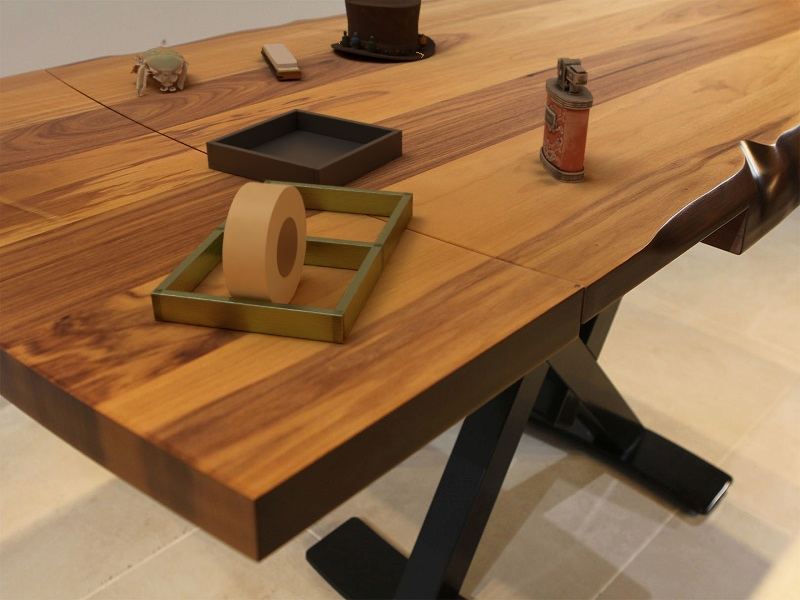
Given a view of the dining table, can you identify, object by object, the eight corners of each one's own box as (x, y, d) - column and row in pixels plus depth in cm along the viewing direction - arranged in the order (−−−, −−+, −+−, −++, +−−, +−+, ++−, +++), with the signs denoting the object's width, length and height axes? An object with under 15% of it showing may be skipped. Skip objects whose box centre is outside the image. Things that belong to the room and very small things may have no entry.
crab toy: (97, 82, 103) (100, 40, 101) (155, 78, 113) (159, 40, 111) (155, 102, 101) (160, 59, 99) (210, 96, 110) (215, 57, 108)
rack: (154, 320, 55) (150, 292, 55) (267, 201, 73) (265, 179, 72) (342, 343, 53) (342, 315, 52) (412, 215, 71) (413, 192, 70)
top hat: (379, 35, 133) (379, -37, 128) (456, 50, 124) (459, -27, 119) (309, 51, 123) (305, -26, 118) (387, 68, 114) (386, -14, 109)
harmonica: (260, 55, 120) (259, 41, 119) (282, 54, 121) (281, 40, 120) (277, 81, 108) (276, 65, 107) (301, 80, 109) (300, 64, 108)
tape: (234, 328, 56) (212, 229, 51) (274, 254, 62) (257, 158, 57) (276, 333, 56) (258, 234, 50) (312, 258, 61) (299, 162, 56)
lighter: (533, 153, 84) (541, 50, 80) (566, 152, 85) (577, 49, 80) (555, 183, 77) (565, 72, 73) (591, 181, 78) (604, 71, 73)
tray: (208, 167, 80) (205, 142, 79) (296, 131, 90) (295, 108, 89) (320, 197, 74) (319, 169, 73) (402, 154, 84) (402, 130, 83)
